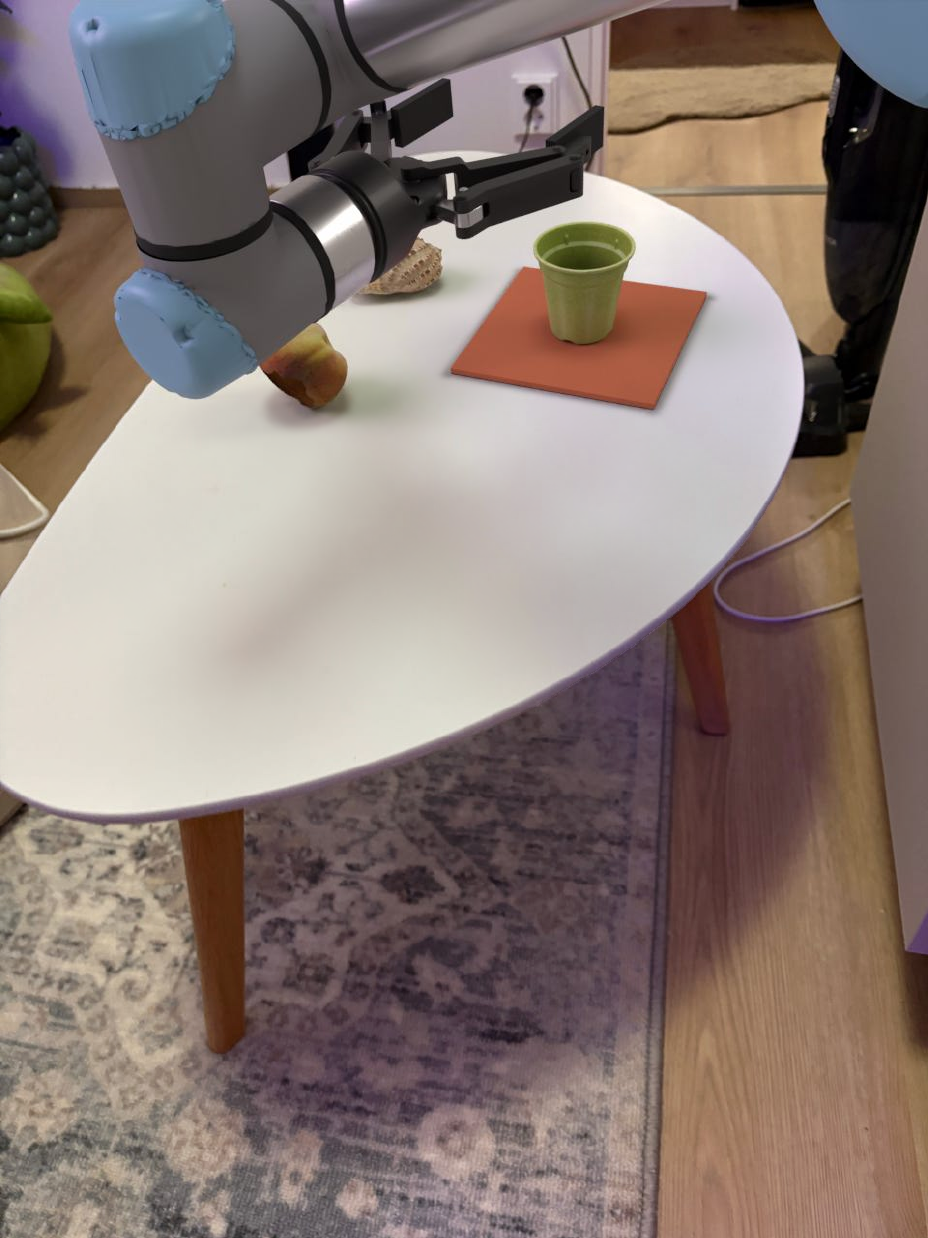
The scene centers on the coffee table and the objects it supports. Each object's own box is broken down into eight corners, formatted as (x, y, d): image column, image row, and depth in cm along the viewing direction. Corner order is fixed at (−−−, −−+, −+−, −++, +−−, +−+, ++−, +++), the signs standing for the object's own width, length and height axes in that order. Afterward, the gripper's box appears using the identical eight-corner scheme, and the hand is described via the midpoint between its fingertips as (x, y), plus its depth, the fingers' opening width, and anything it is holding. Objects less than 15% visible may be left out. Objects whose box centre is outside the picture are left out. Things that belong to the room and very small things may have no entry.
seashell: (397, 336, 101) (461, 269, 101) (369, 299, 96) (437, 228, 96) (358, 308, 105) (420, 244, 105) (330, 271, 100) (395, 203, 100)
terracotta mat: (706, 296, 96) (706, 291, 96) (653, 409, 85) (653, 404, 84) (523, 271, 102) (523, 266, 102) (450, 373, 91) (450, 367, 90)
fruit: (343, 427, 86) (327, 351, 80) (258, 423, 88) (236, 348, 82) (363, 379, 91) (349, 304, 85) (282, 376, 93) (263, 302, 87)
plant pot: (606, 295, 97) (609, 212, 90) (646, 341, 91) (653, 256, 84) (521, 316, 95) (518, 233, 89) (556, 364, 89) (556, 279, 83)
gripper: (216, 245, 68) (398, 135, 79) (499, 336, 57) (666, 193, 68) (185, 137, 62) (385, 34, 73) (492, 214, 52) (675, 80, 62)
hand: (520, 110), depth 70 cm, fingers open, 13 cm apart
